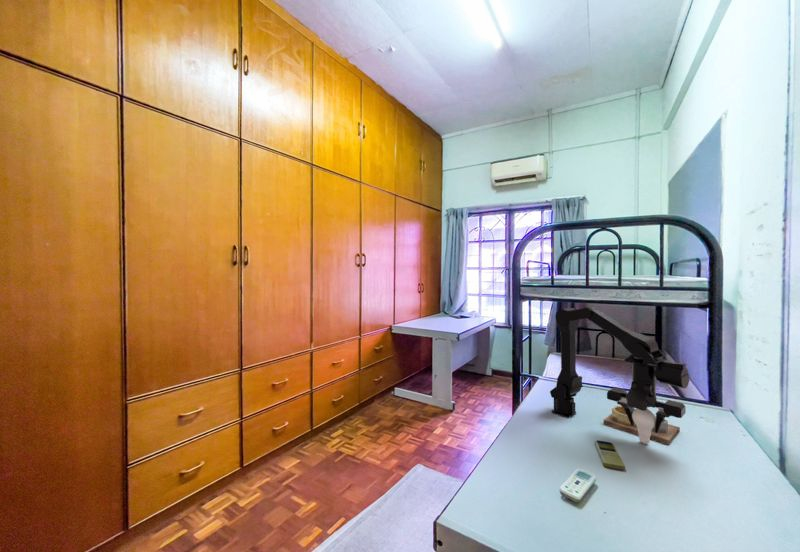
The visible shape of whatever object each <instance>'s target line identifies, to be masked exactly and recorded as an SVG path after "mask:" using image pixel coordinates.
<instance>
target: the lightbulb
mask: <svg viewBox="0 0 800 552" xmlns="http://www.w3.org/2000/svg"><path fill="white" fill-rule="evenodd" d="M632 418H633V421H634V422H635V424H636V426H637V429H638V434H639V435H638V437H639V438H638V439H639V442H641V443H642V444H644V445H647V444H649V443H650V442H651V439H650V436H651V431H652V429H653V428H654V427H655V425H656V413H654V412H653V410H651V409H649V408H647V410H645V411H643V410H640V409H637V408H635V410H634V411H633V413H632Z"/></svg>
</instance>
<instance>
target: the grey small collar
mask: <svg viewBox="0 0 800 552" xmlns="http://www.w3.org/2000/svg"><path fill="white" fill-rule="evenodd" d="M668 424H669V421H668V420H667V419H666V418H665V419H664V420H663V422H662V425H661V427H660V429H659V431H658V432H667V431H668ZM652 430H654V431H655V427H654V428H653V429H652Z"/></svg>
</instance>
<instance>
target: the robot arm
mask: <svg viewBox="0 0 800 552" xmlns="http://www.w3.org/2000/svg"><path fill="white" fill-rule="evenodd" d="M554 317H555V323H556V326H557V328H558V330H559V333H560V372H559V374H558V376H557V380H556V386H555V387H554V388H552V389H550V391H549V393H550V397H551V398H552V399H553V409H552V410H551V413H553V414H556V415H559V416H562V417H564V418H571V417H572V416H574V415H576V414H577V411H576V402H575V398H574V397H577V394H579V392H581V390H582V388H583V387H584V386H583V383H582V382H583V376H581V375H578V373H577V370H576V369H577V368H576V358H577V357H576V332H577V330H578V328H579V325H580V320H583V319H587V320H589V321H590V322H592V323H593V324H595V325H596V326H597V327H599V328H601V329H602V330H604V331H605V332H606V333H608V334H609V335H611V336H612V337H614V338H615V339H617V340H618V341H619V342H620V343H621V344H622V346H623V348H624V349H626V351H628V352H629V353H630V355H629V356H628V357H626V358H625V359H624V362H627V363H631V367H632V369H631V371H632V373H631V375H632V378H631V380H632V381H631V384H630V388H629V390H628V391H627V390H626V389H623V388H619V387H615V386H614V387H613V388H611V389H609V390H607V393H606V398H607V400H609V401H614V402H616V404H617V405H618V406H622V407H623V408H624V410H625V412H626V414H627V416H628V419H629V421H630V424H631V425H632V426H633V425H634V421H633V418H632V413H633V411H634V408H635V409H636V408H637V409H640V410H643V411H645V410H647V409H648V408H654V409H655V408H657V409H658V410H657V411H656V413H655V416H656V425H655V433H658V431H659V429H660V427H661V425H662V422H663V420H664V419H665V420H666V418H670V417H673V418H677V419H682V418H683V417H684V416H685V414H686V413H687V412H686V410H687V409H686V408H687V407H686V405H685V404H684V403H683V402H680V401H679V402H678V401H675V400H669V399H668V400H667V401H665V402H663V401H658V399H657V393H656V392H657V391H656V388H657V387H656V386H657V381H658V382H659V383H660V384H664V385H669V386H673V387H675V388H676V387H677V388H680V389H681V388H682V389H687V387H688V385H689V383H690V374H689V371H688V368H687V364H686V363H683V362H673V361H669V360H668V359H667V357H666V356H665V355H664V354H663V352H662V351H661V350H660V349H659V346H658V345H659V344H658V343H657V341H656V340H655V339H653V338H651V337H649V336H647V335H645V334H643V333H639V332H636V331H634V330H631V329H629V328H628V327H626V326H624V325H623V324H621V323H620V322H618V321H616V320H615V319H614V318H611V317H610V316H609V315H606V314H605V313H603V312H602V311H601V310H599V308H597V307H595V306H586V307H584V308H577V309H575V308H574V307H573V308H572V307H571V308H570V307H569V308H561V309H558V310H557V311H556V312H555V316H554Z"/></svg>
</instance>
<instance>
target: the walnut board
mask: <svg viewBox="0 0 800 552" xmlns="http://www.w3.org/2000/svg"><path fill="white" fill-rule="evenodd" d="M603 425H605V426H609V427H610V428H615V429H617V430H620V431H624V432H626V433H631V434H633V435H636V436H639V434H638V429H637V426H630V425H627V424H623V423H620V422H617V421H616V420H615V419H614V418H613V417H612V413H611V414H610V415H608V416H607V417H605V418H604V419H603ZM680 430H681V428H680V427H679V426H677V425H673V424H669V423H668V431H667V432H658V433H655V431H654V430H652V431H651V436H650V441H651V440H652V441H655V442H659V443H662V444H665V445H668V446H670V445H671V443H672V442H673V441H674V440H675V438H677V436H678V435H679V433H680V432H681V431H680Z"/></svg>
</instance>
